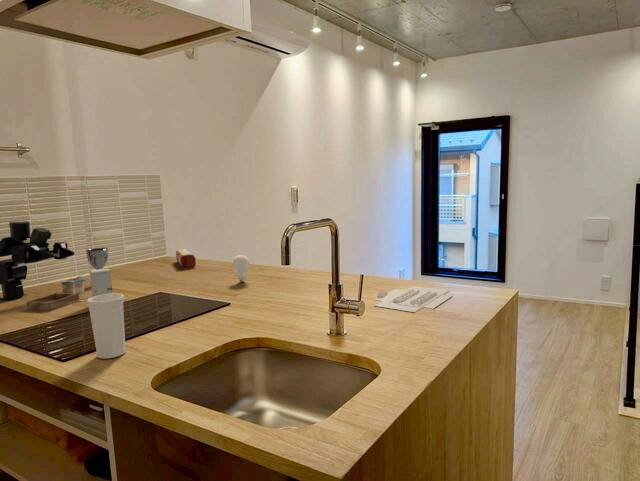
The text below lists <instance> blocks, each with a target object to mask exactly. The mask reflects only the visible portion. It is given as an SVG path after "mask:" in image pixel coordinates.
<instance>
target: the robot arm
mask: <svg viewBox="0 0 640 481" xmlns="http://www.w3.org/2000/svg"><path fill="white" fill-rule="evenodd" d="M8 225H9V233H10V236H7V237H6V236H5V237H3V238H2V239H0V258H2V257H7V256H8V257H9V256H11V257H10V258H8V259H3V260H0V286H1V293H2V296H1V297H0V300H3V301H5V300H8V301H13V300H17V299H20V298H22V297H25V296H27V295H28V294H27V293H26V294H25V293H24V285H23V283H22V282H23V280H26V279H27V274H28V266H27V265H28V264H33V263H34V264H35V263H38V262H43V261H46V260H49V259H52V258H53V259H54V260H66V259H67V258H70V257H72V256H75V251H73V250H71V249H69V247H68V242H65V241H64V242H54V244H52V246H53V247H52V248H53V249H50V248H49V247H50V243H49V242H48V240H50V239H51V236H52V234H53V233H52V231H50V228H49V229H46V228H43V227H37V228H36V227H35V228H33V229H32V231H31V224H30V221H27V220H25V221H24V220H23V221H10V222H9V224H8ZM28 239H29V242H26V241H28Z"/></svg>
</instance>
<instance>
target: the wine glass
mask: <svg viewBox="0 0 640 481" xmlns="http://www.w3.org/2000/svg"><path fill="white" fill-rule="evenodd" d="M85 254H86V260H87V262H88V264H89V266H91V267H92V268H93V269H94V270H98V269H105V267H106V265H107V263H108V262H109V249H108V247H95V248H93V247H92V248H89V249H86V250H85Z"/></svg>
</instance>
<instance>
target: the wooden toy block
mask: <svg viewBox="0 0 640 481" xmlns="http://www.w3.org/2000/svg"><path fill="white" fill-rule="evenodd" d="M76 278H77V277H76ZM76 278H73V277H72V278H69V279H66V280H62V281H61V289H62V293H75V294H79V296H80V295H82V294H85V293H86V292H85V286H84V283H83V282H84V281H83V279H76Z"/></svg>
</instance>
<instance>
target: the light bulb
mask: <svg viewBox="0 0 640 481" xmlns="http://www.w3.org/2000/svg"><path fill="white" fill-rule="evenodd" d="M232 267H233V269H234V270H235V272H236V275H237V278H238V282H240V283H244V282H245V281H246V279H247V278H246V275H247V271H248V269H249V267H250V259H249V258H248V257H247V256H246V255H244V254H243V255H242V254H238V255H236V256H235V257H234V258H233V259H232Z"/></svg>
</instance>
